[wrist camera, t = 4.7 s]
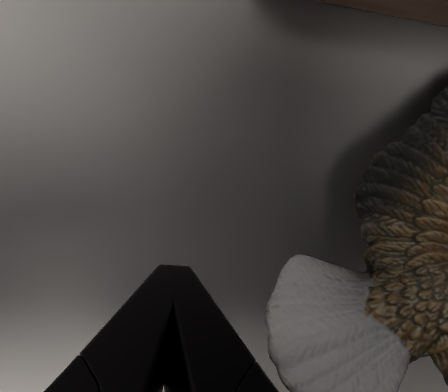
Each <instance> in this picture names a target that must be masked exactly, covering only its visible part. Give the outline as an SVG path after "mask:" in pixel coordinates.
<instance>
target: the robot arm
mask: <svg viewBox="0 0 448 392" xmlns="http://www.w3.org/2000/svg"><path fill="white" fill-rule="evenodd" d="M163 387H164V392H279V391H278V390H277V389H276V387H275V386H274V385H273V383H272V382H271V381H270V379H269V378H268V377H267V375H266V374H265V372H264V371H263V370H262V368H261V367H260V365H259V364H258V363H257V362H256V360H255V358H254V357H253V355H252V354H251V353H250V351H249V350H248V348H247V347H246V346H245V344H244V343H243V341H242V340H241V338H240V337H239V336H238V334H237V333H236V331H235V330H234V328H233V327H232V326H231V324H230V323H229V321H228V320H227V319H226V317H225V316H224V314H223V313H222V311H221V310H220V309H219V307H218V306H217V304H216V303H215V301H214V300H213V299H212V297H211V296H210V294H209V293H208V292H207V290H206V289H205V287H204V286H203V284H202V283H201V282H200V280H199V279H198V277H197V276H196V275H195V273H194V272H193V270H192V269H191V268H190V267H189V266H175V265H163V264H161V265H159V266H158V267H157V268H156V269H155V270H154V271H153V273H152V274H151V275H150V276H149V277H148V278H147V279H146V280H145V281H144V283H143V284H142V285H141V286H140V287H139V288H138V289H137V290H136V291H135V293H134V294H133V295H132V296H131V297H130V298H129V299H128V300H127V301H126V303H125V304H124V305H123V306H122V307H121V308H120V309H119V310H118V311H117V312H116V314H115V315H114V316H113V317H112V318H111V319H110V320H109V321H108V322H107V324H106V325H105V326H104V327H103V328H102V329H101V330H100V331H99V332H98V334H97V335H96V336H95V337H94V338H93V339H92V340H91V341H90V342H89V344H88V345H87V346H86V347H85V348H84V349H83V350H82V351H81V352H80V355H78V356H77V357H76V358H75V359H74V360H73V361H72V362H71V363H70V364H69V366H68V367H67V368H66V369H65V370H64V371H63V372H62V373H61V374H60V375H59V376H58V377H57V378H56V379H55V380H54V382H53V383H52V384H51V385H50V386H49V387H48V388H47V389H46V390H45V391H44V392H162V391H163Z"/></svg>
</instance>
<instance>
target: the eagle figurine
mask: <svg viewBox="0 0 448 392" xmlns="http://www.w3.org/2000/svg"><path fill="white" fill-rule="evenodd" d="M353 197H354V199H355V200H356V203H355V205H354V209H353V210H354V214H355V215H356V216H357V217H358V218H359V219H360V220H361V222H362V226H361V237H362V239H363V240H364V241H365V242H366V243H368V244H369V247H368V249H367V251H366V252H365V254H364V260H365V262H366V264H367V271H365V272H363V273H361V272H355V271H353V270H351V269H348V268H344V267H340V266H338V265H334V264H331V263H327V262H325V261H322V260H319V259H316V258H314V257H311V256H306V255H295V256H293V257H291V258H290V259H289V260H288V262H287V263H286V264H285V265H284V267H283V268H282V270H281V271H280V273H279V277H278V280H277V283H276V286H275V288H274V291H273V293H272V295H271V298H270V299H269V301H268V303H267V305H266V308H265V313H264V315H265V322H266V326H267V329H268V353H269V356H270V359H271V360H272V361H273V363H274V365H275V366H276V368H277V371H278V374H279V377H280V379H281V381H282V383H283V384H284V385H285V387H286V388H287V389H288V390H289V391H290V392H397V391H398V389H399V385H400V383H401V381H402V379H403V378H404V376H405V373H406V370H407V368H408V364H410V363H411V362H413V361H415V360H417V359H419V358H420V357H424V356H431V358H432V360H433V362H434V364H435V365H436V366H437V368H438V369H439V371H440V372H441V373H442V374H443V376H444V380H445V383H446V384H447V385H448V87H446V88H445V89H444V90H442V92H441V93H440V94H439V95H437V96H435V97H434V98H433V100H432V102H431V105H430V113H424V114H422V115H421V116H420V117H419V118H418V119H417V121H416V123H415V124H414V125H412V126H410V127H408V128H407V130H406V131H405V133H404V135H403V139H402V141H399V142H391V143H389V144H388V145H387V146H386V148H385V150H383V151H380V152H378V153H376V154H375V155H374V156H373V158H372V162H371V164H370V165H369V166H368V167H367V168H366V170H365V172H364V176H363V182H362V183H361V184H360V185H359V186H358V187H357V189H356V190H355V193H354V196H353Z"/></svg>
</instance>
